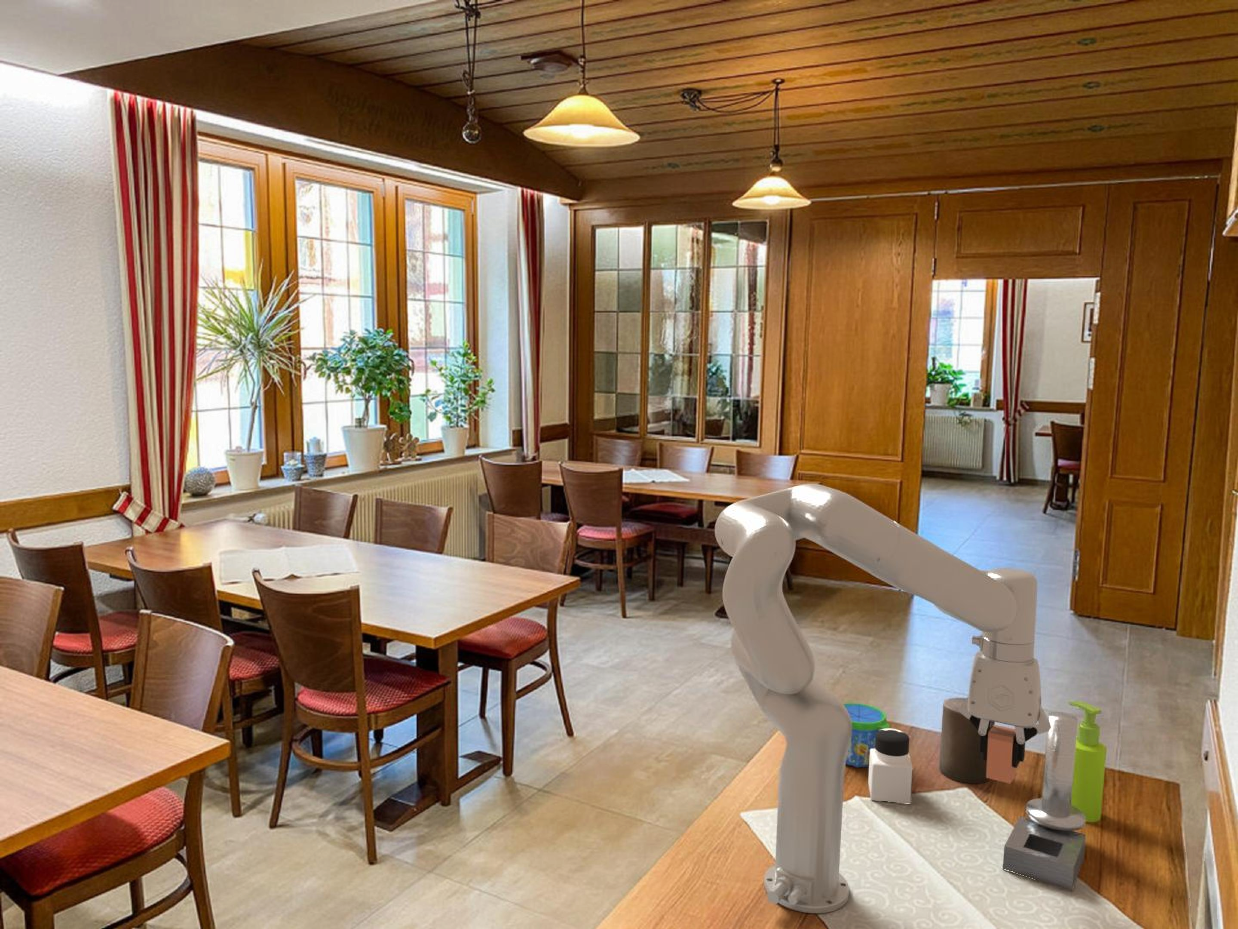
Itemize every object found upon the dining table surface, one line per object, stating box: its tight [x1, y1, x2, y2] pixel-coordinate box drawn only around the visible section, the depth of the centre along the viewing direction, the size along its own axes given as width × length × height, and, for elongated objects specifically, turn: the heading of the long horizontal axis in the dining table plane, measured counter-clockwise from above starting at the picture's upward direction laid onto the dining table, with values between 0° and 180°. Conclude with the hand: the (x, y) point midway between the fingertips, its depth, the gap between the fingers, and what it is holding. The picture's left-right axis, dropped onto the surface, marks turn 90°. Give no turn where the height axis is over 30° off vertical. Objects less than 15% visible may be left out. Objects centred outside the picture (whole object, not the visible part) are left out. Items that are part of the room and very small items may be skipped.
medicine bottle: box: [867, 727, 914, 804], centre depth 167 cm, size 7×7×12 cm
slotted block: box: [1002, 711, 1087, 892], centre depth 147 cm, size 18×10×22 cm, turn 145°
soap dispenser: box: [1068, 700, 1107, 823], centre depth 161 cm, size 6×7×20 cm
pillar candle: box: [938, 697, 996, 784], centre depth 177 cm, size 10×10×15 cm
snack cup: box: [843, 702, 893, 769], centre depth 181 cm, size 16×10×10 cm
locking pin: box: [986, 724, 1017, 784], centre depth 143 cm, size 4×4×8 cm
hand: (1001, 759), depth 143 cm, fingers closed on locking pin, 3 cm apart
